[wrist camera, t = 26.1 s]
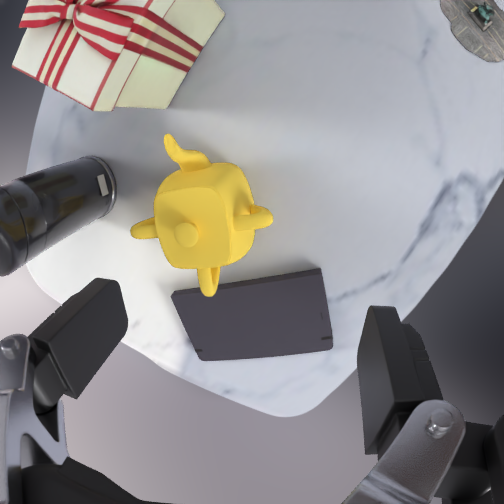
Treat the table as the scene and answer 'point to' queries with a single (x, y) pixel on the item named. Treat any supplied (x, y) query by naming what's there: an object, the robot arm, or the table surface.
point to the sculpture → (477, 26)
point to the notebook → (258, 317)
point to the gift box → (115, 48)
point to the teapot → (203, 215)
